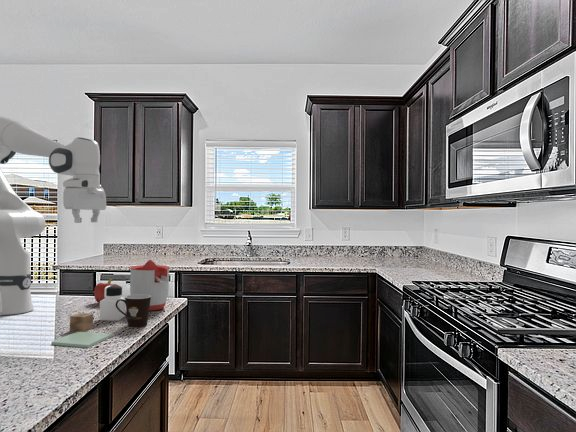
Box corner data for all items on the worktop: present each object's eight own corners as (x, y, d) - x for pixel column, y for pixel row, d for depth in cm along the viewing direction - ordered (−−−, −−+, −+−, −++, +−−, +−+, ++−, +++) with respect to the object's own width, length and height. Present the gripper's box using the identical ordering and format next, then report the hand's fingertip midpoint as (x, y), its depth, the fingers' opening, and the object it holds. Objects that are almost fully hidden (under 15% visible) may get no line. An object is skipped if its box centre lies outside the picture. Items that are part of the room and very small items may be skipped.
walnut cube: (69, 331, 148) (70, 316, 148) (79, 327, 153) (79, 312, 153) (83, 332, 147) (83, 317, 147) (92, 328, 152) (93, 313, 152)
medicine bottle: (125, 316, 170) (126, 284, 170) (119, 320, 163) (119, 287, 163) (106, 316, 170) (107, 284, 170) (99, 320, 163) (99, 287, 163)
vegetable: (99, 300, 198) (100, 277, 198) (123, 300, 199) (124, 278, 199) (90, 305, 187) (90, 281, 187) (115, 305, 188) (116, 281, 188)
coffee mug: (155, 324, 159) (156, 296, 159) (136, 329, 152) (136, 299, 152) (133, 319, 165) (133, 292, 165) (113, 324, 158) (113, 295, 158)
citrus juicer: (147, 315, 173) (148, 263, 172) (121, 308, 183) (122, 259, 183) (179, 309, 185) (180, 260, 185) (153, 303, 196) (154, 256, 195)
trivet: (51, 344, 133) (51, 341, 133) (77, 334, 145) (77, 331, 145) (88, 347, 131) (88, 345, 131) (111, 336, 143) (111, 334, 142)
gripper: (95, 185, 171) (95, 222, 171) (59, 181, 151) (59, 223, 151) (110, 185, 170) (110, 222, 170) (76, 181, 150) (76, 223, 150)
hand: (86, 222), depth 160 cm, fingers open, 8 cm apart
